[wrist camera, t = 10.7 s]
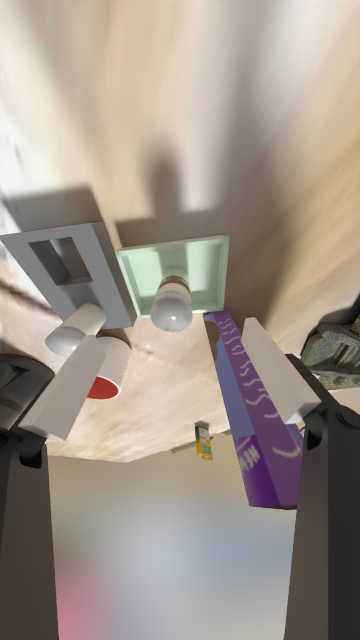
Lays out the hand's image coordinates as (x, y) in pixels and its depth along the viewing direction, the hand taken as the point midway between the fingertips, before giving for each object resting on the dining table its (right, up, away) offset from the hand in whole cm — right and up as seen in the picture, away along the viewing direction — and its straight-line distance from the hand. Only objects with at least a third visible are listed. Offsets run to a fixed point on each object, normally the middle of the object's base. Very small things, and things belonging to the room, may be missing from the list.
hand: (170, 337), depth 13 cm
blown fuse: (0, +9, +11) cm, 14 cm away
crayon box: (+12, -54, +59) cm, 81 cm away
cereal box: (+13, -2, +20) cm, 24 cm away
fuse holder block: (-15, +8, +12) cm, 21 cm away
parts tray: (0, +9, +12) cm, 15 cm away
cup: (-16, -5, +22) cm, 28 cm away
